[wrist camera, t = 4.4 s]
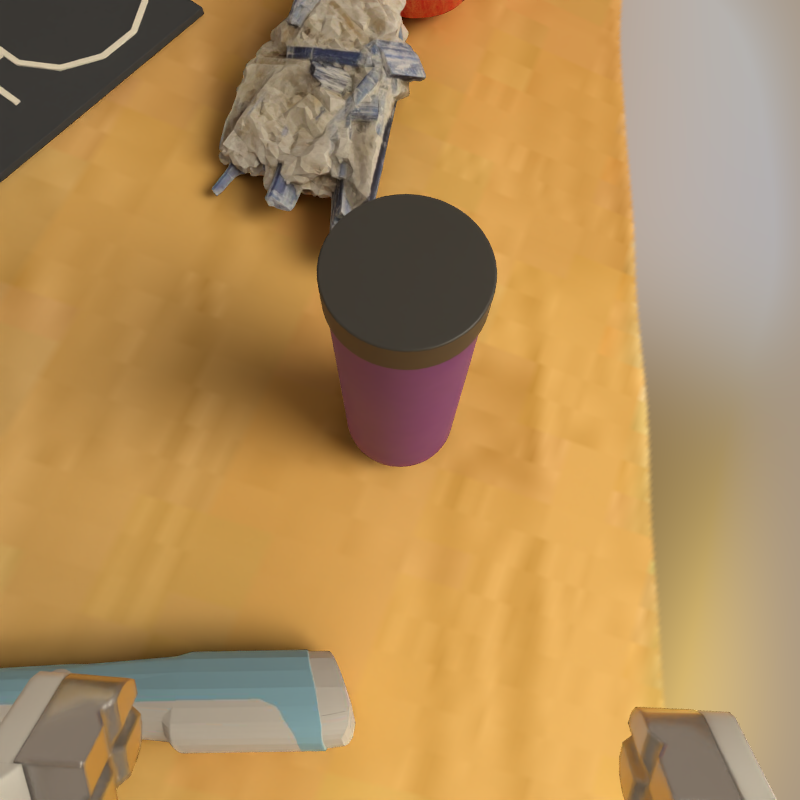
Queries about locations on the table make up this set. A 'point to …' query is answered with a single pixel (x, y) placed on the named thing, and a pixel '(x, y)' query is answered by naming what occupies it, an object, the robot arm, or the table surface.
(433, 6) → the apple
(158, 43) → the drawing mat
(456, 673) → the table surface
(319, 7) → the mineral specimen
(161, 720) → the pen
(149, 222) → the table surface
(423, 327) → the disc
